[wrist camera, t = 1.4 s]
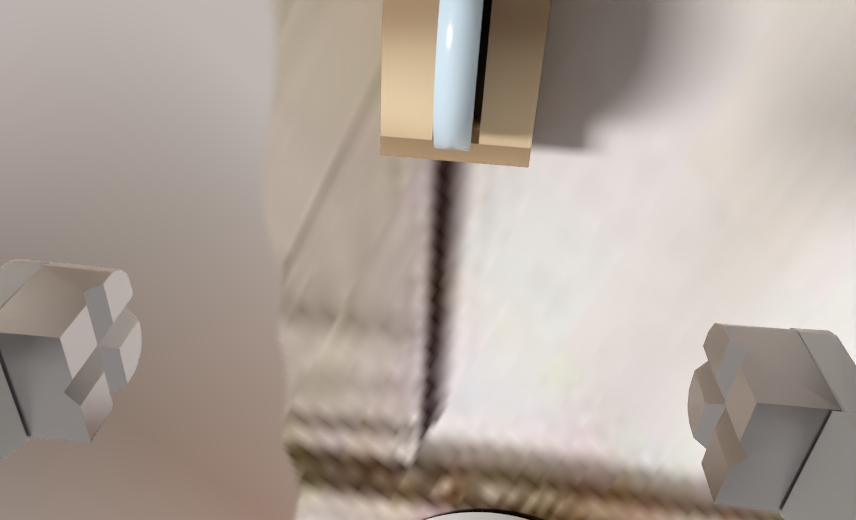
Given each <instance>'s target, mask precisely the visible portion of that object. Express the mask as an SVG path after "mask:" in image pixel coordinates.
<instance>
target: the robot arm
mask: <svg viewBox="0 0 856 520" xmlns="http://www.w3.org/2000/svg"><path fill="white" fill-rule="evenodd" d="M132 295H133V292H132V289H131V285H130V281H129V277H128V275H127V274H125V273H124V272H123V271H122V270H120V269H112V268H103V267H94V266H85V265H75V264H67V263H57V262H52V263H50V262H46V261H36V260H26V259H16V260H12V261H7V262H6V263H5V264H4V265H3V266H2V267H1V268H0V461H1V460H2V459H4V458H5V457H7V456H8V455H9V454H11V453H12V452H14V451H15V450H17V449H18V448H19V447H21V446H22V445H24V444H25V443H27V442H28V438H35V439H51V440H64V441H78V442H91V441H92V440H93V438H94V437H95V435H96V433H97V432H98V430H99V428H100V427H101V425H102V424H103V422H104V421H105V419H106V417H107V416H108V414H109V413H110V411H111V409H112V408H113V404H112V400H111V396H110V394H111V393H112V392H114V391H115V390H117V389H119V388H121V387H123V386H124V385H126V384H127V383H128V382H129V380H130V378H131V376H132V375H133V373H134V371H135V370H136V367H137V363H138V360H139V355H140V352H141V331H140V325H139V320H138V319H137V318H136V317H135V316H134V315H133V314H132V313H131V312H130V311H129V310H128V309H127V308H126V307H125V306H126V304H127V303H128V301H129V300H130V298H131V297H132ZM703 347H704V350H705V352H706V355H707V358H708V361H707V362H706V363H705V364H703V365H702V366H701V367H699V368H698V369H696V370H695V371H694V375H693V378H692V381H691V385H690V388H689V397H688V416H689V423H690V427H691V430H692V434H693V437H694V438H695V439H696V440H697V441H698V442H699V443H700V444H701V445H703V446H704V447H705V448H706V449H707V450H706V452H705V455H704V458H703V460H702V466H703V470H704V473H705V476H706V479H707V482H708V485H709V488H710V492H711V495H712V498H713V501H714V503H715V504H723V505H731V506H739V507H747V508H755V509H763V510H771V511H779V512H781V513H780V515H781V517H782V518H783V519H784V520H856V365H855V363H854V362H853V360H852V359H851V357H850V356H849V354H848V352H847V351H846V349H845V348H844V346H843V345H842V343H841V341H840V340H839V338H838V337H837V336H836V335H835V334H833V333H832V332H830V331H827V330H811V329H795V328H790V329H779V328H767V327H755V326H743V325H731V324H719V323H715V324H714V325H713V326H712V328H711V329H710V330H709V332H708V334H707V337H706V340H705V343H704V345H703ZM427 520H528V519H524V518H520V517H516V516H511V515H505V514H498V513H487V512H466V513H454V514H447V515H442V516H437V517H433V518H430V519H427Z"/></svg>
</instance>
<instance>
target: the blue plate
mask: <svg viewBox="0 0 856 520" xmlns="http://www.w3.org/2000/svg"><path fill="white" fill-rule="evenodd" d="M483 6H484V0H440V3H439V16H438V30H437V44H436V61H435V80H434V106H433V139H434V147H435V148H437V149H449V150H461V151H470V146H471V137H472V126H473V116H474V106H475V95H476V84H477V73H478V62H479V51H480V40H481V29H482V18H483Z"/></svg>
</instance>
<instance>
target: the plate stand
mask: <svg viewBox="0 0 856 520" xmlns="http://www.w3.org/2000/svg"><path fill="white" fill-rule="evenodd" d="M439 3H440V0H383V16H382V83H381V149H380V155H387V156H399V157H411V158H422V159H434V160H446V161H458V162H470V163H482V164H494V165H506V166H518V167H529V159H530V152H531V145H532V137H533V130H534V123H535V115H536V108H537V101H538V93H539V86H540V79H541V71H542V64H543V57H544V49H545V42H546V35H547V27H548V20H549V13H550V6H551V0H492V5H491V16H490V26H489V37H488V48H487V58H486V69H485V80H484V90H483V101H482V112H481V117H473V126H472V137H471V146H470V151H461V150H449V149H437V148H435V147H434V139H433V106H434V80H435V61H436V44H437V30H438V16H439Z"/></svg>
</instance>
